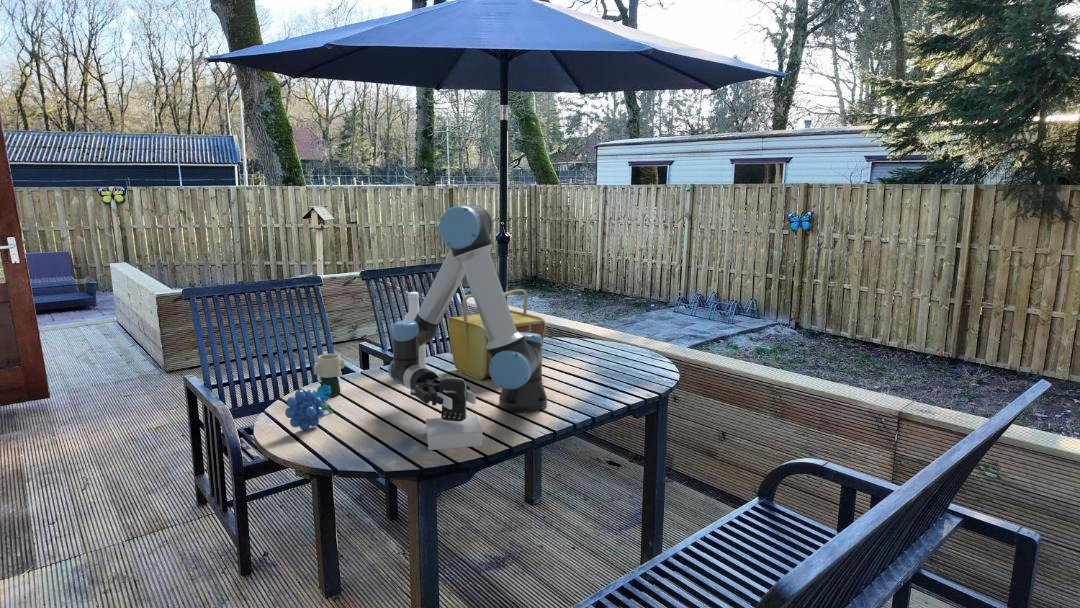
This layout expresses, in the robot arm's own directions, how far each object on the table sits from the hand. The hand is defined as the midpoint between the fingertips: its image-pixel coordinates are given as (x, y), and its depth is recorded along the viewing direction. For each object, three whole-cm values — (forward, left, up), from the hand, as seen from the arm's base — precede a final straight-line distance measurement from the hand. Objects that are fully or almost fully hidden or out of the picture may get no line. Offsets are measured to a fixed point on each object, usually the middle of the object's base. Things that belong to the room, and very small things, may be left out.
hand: (462, 401), depth 162 cm
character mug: (+38, -51, -12) cm, 65 cm away
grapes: (+41, -19, -12) cm, 47 cm away
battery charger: (+2, -5, -7) cm, 8 cm away
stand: (+2, -5, -12) cm, 13 cm away
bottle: (+10, -72, -12) cm, 73 cm away
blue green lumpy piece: (+40, -35, -12) cm, 54 cm away
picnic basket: (-20, -70, -12) cm, 73 cm away
